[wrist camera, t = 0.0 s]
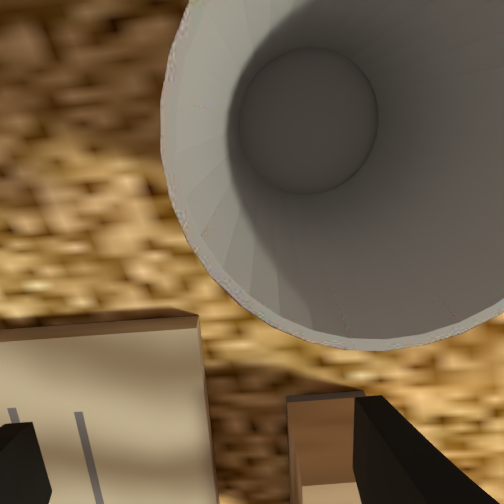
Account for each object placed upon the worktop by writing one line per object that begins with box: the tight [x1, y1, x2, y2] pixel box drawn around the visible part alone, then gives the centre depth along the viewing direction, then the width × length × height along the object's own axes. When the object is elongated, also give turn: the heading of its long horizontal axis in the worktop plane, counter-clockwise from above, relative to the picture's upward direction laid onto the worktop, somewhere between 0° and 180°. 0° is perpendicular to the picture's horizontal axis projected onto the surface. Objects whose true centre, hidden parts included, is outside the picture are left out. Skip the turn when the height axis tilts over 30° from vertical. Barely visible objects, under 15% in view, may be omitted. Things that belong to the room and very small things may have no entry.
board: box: [0, 315, 220, 504], centre depth 21 cm, size 14×18×1 cm
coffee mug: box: [160, 0, 504, 351], centre depth 13 cm, size 12×9×10 cm
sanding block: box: [286, 390, 366, 504], centre depth 20 cm, size 8×4×6 cm, turn 3°
